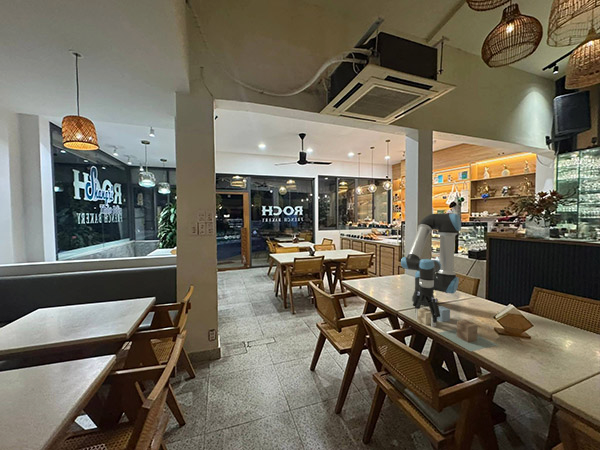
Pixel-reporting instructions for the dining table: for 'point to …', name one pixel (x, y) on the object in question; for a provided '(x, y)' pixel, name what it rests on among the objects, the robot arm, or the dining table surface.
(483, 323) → the trading card
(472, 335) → the walnut block
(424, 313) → the beech block
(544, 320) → the dining table surface
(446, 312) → the blue block
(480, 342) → the build plate
